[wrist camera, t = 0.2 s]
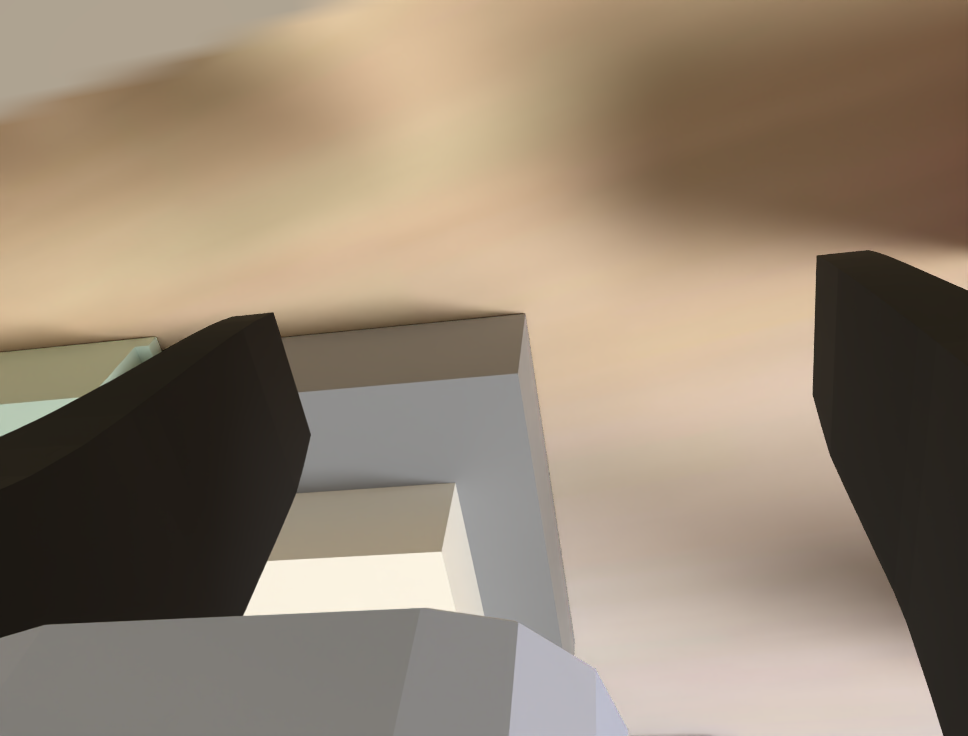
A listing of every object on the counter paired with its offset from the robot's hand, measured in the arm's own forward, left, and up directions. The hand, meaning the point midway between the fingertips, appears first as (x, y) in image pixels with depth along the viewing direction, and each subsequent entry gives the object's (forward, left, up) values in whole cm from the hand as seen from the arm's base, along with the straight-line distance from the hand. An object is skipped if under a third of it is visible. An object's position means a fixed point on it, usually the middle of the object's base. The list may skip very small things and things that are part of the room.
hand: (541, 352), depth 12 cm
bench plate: (-10, +6, -10) cm, 16 cm away
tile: (-10, +6, -7) cm, 14 cm away
